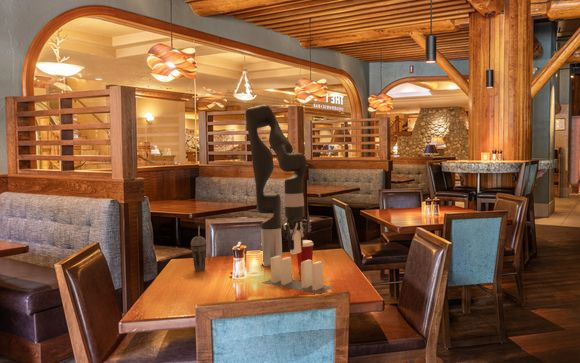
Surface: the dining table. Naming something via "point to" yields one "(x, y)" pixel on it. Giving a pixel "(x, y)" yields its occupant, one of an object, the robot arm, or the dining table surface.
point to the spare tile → (296, 242)
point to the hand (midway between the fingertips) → (295, 247)
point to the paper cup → (305, 253)
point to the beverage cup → (199, 252)
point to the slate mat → (298, 286)
